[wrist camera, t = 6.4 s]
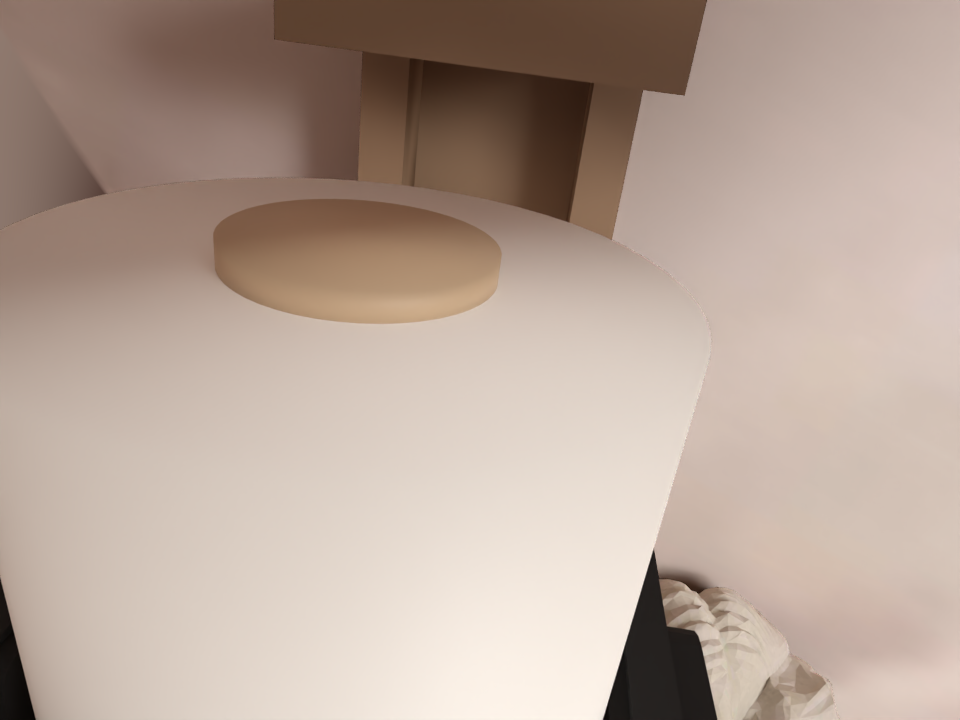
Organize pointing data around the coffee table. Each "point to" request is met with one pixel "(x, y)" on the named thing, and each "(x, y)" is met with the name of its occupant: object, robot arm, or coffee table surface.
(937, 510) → the coffee table surface
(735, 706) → the fossil replica
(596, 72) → the holder
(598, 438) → the roll
